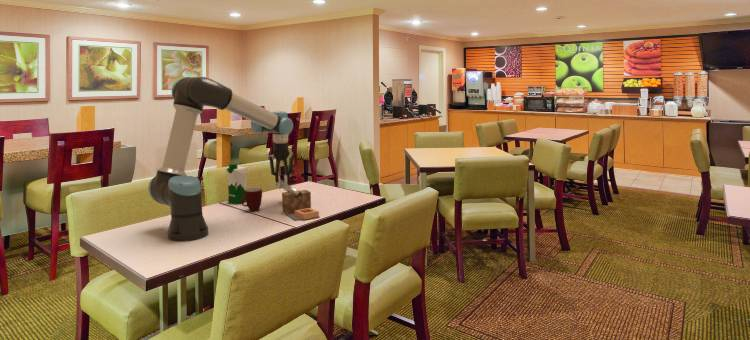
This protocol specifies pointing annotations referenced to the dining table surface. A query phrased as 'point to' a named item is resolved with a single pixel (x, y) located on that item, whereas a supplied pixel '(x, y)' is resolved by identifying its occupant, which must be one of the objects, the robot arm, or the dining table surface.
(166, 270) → the dining table surface
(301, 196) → the cradle block
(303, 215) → the frame
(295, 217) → the mat
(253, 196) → the mug
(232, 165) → the milk carton
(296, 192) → the shaft
